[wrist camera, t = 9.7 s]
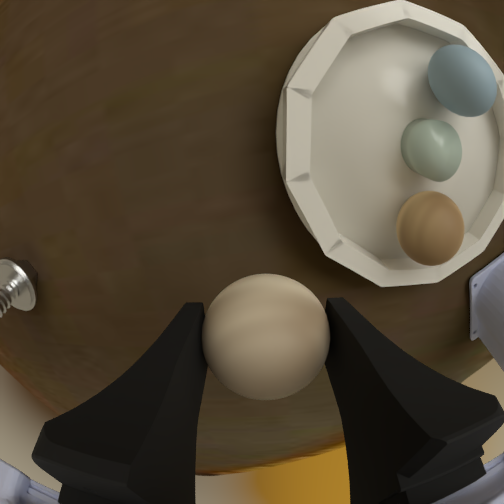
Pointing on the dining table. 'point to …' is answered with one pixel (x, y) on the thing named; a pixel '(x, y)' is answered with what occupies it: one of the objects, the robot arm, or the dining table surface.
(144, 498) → the robot arm
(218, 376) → the bead birch
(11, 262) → the screw
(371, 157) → the tray
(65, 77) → the dining table surface
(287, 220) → the dining table surface
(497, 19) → the dining table surface
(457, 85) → the bead blue
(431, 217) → the bead oak
